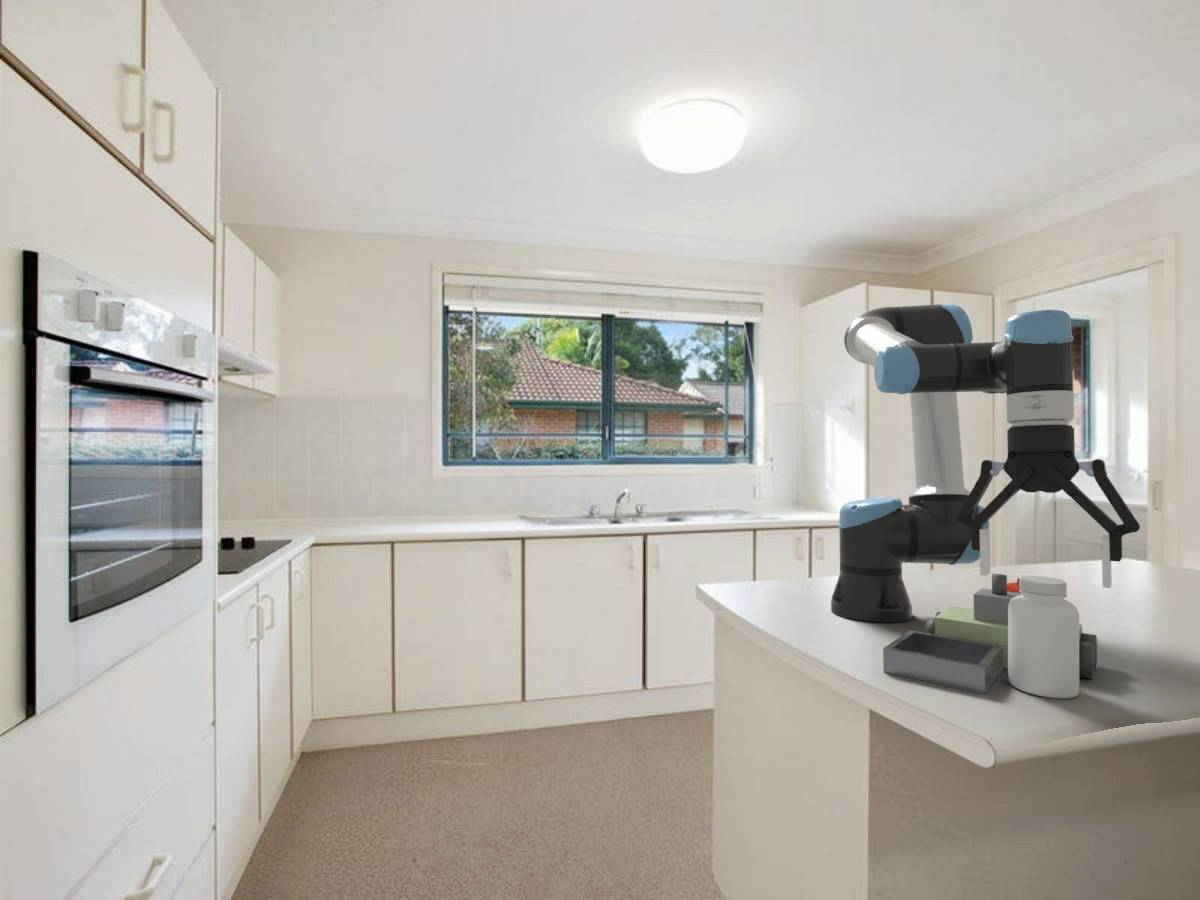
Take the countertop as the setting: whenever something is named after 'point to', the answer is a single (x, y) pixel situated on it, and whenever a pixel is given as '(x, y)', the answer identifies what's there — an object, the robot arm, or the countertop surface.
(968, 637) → the green roller box
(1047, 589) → the pill bottle
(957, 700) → the countertop surface
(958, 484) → the robot arm
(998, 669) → the grey square tray
